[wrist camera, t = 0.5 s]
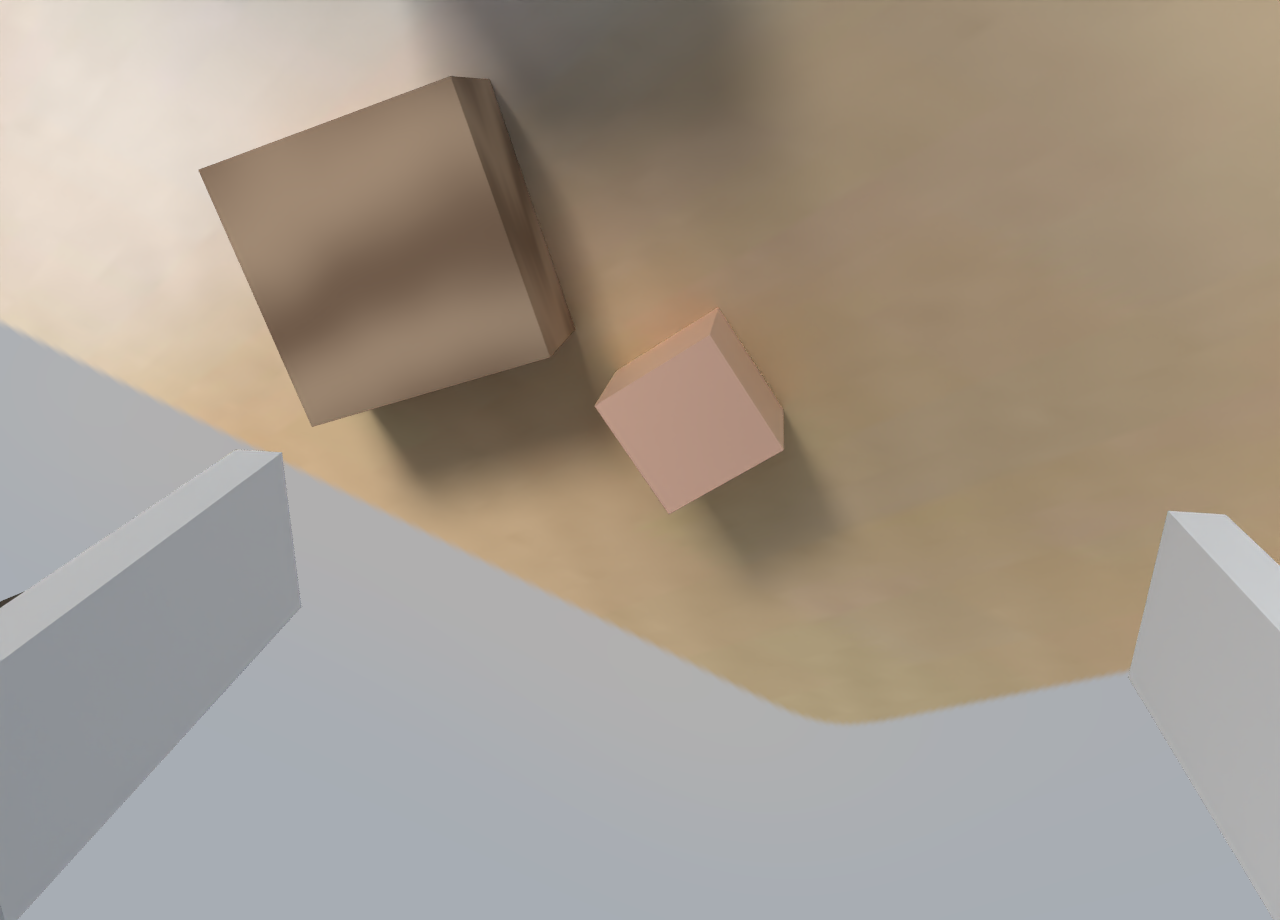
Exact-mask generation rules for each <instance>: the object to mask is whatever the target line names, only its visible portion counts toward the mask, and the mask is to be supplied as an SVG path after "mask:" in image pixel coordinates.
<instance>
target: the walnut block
mask: <svg viewBox="0 0 1280 920" xmlns="http://www.w3.org/2000/svg"><path fill="white" fill-rule="evenodd" d="M199 172H200V175H201V177H202V179H203V181H204V184H205V186H206V188H207V191H208V193H209V195H210V197H211V200H212V202H213V204H214V206H215V209H216V211H217V213H218V215H219V218H220V220H221V222H222V224H223V227H224V229H225V231H226V234H227V236H228V238H229V240H230V243H231V245H232V247H233V249H234V252H235V254H236V256H237V258H238V261H239V263H240V265H241V267H242V270H243V272H244V274H245V277H246V279H247V281H248V283H249V286H250V288H251V290H252V292H253V295H254V297H255V299H256V301H257V304H258V306H259V308H260V311H261V313H262V315H263V317H264V320H265V322H266V324H267V326H268V329H269V331H270V333H271V335H272V338H273V340H274V342H275V344H276V347H277V349H278V351H279V354H280V356H281V358H282V360H283V363H284V365H285V367H286V369H287V372H288V374H289V376H290V378H291V381H292V383H293V385H294V388H295V390H296V392H297V394H298V397H299V399H300V401H301V403H302V406H303V408H304V410H305V412H306V415H307V417H308V419H309V421H310V424H311V426H312V427H313V426H317V425H320V424H323V423H327V422H330V421H334V420H337V419H341V418H344V417H347V416H351V415H354V414H358V413H361V412H365V411H368V410H371V409H375V408H378V407H382V406H385V405H389V404H392V403H395V402H399V401H402V400H406V399H409V398H413V397H416V396H420V395H423V394H426V393H430V392H433V391H437V390H440V389H444V388H447V387H450V386H454V385H457V384H461V383H464V382H468V381H471V380H474V379H478V378H481V377H485V376H488V375H492V374H495V373H498V372H502V371H505V370H509V369H512V368H516V367H519V366H522V365H526V364H529V363H533V362H536V361H540V360H543V359H546V358H550V357H551V356H552V355H553V354H554V353H555V351H556V350H557V349H558V348H559V347H560V346H561V345H562V344H563V342H564V341H565V340H566V339H567V338H568V337H569V336H570V335H571V333H572V332H573V331H574V330H575V327H574V324H573V321H572V318H571V315H570V312H569V309H568V307H567V304H566V301H565V298H564V295H563V292H562V289H561V286H560V283H559V280H558V277H557V274H556V272H555V269H554V266H553V263H552V260H551V257H550V254H549V251H548V248H547V245H546V242H545V239H544V236H543V234H542V231H541V228H540V225H539V222H538V219H537V216H536V213H535V210H534V207H533V204H532V201H531V199H530V196H529V193H528V190H527V187H526V184H525V181H524V178H523V175H522V172H521V169H520V166H519V164H518V161H517V158H516V155H515V152H514V149H513V146H512V143H511V140H510V137H509V134H508V131H507V129H506V126H505V123H504V120H503V117H502V114H501V111H500V108H499V105H498V102H497V99H496V96H495V94H494V91H493V88H492V85H491V82H490V79H478V78H466V77H454V76H450V77H447V78H444V79H442V80H439V81H436V82H434V83H431V84H428V85H425V86H423V87H420V88H417V89H415V90H412V91H409V92H407V93H404V94H401V95H399V96H396V97H393V98H391V99H388V100H385V101H382V102H380V103H377V104H374V105H372V106H369V107H366V108H364V109H361V110H358V111H356V112H353V113H350V114H347V115H345V116H342V117H339V118H337V119H334V120H331V121H329V122H326V123H323V124H321V125H318V126H315V127H313V128H310V129H307V130H304V131H302V132H299V133H296V134H294V135H291V136H288V137H286V138H283V139H280V140H278V141H275V142H272V143H270V144H267V145H264V146H261V147H259V148H256V149H253V150H251V151H248V152H245V153H243V154H240V155H237V156H235V157H232V158H229V159H226V160H224V161H221V162H218V163H216V164H213V165H210V166H208V167H205V168H202V169H200V170H199Z"/></svg>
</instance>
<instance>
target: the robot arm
mask: <svg viewBox="0 0 1280 920" xmlns="http://www.w3.org/2000/svg"><path fill="white" fill-rule="evenodd" d="M300 608H301V601H300V593H299V585H298V577H297V569H296V561H295V553H294V545H293V537H292V529H291V522H290V514H289V505H288V498H287V489H286V481H285V473H284V465H283V457H282V452H267V451H252V450H237V449H236V450H234V451H233V452H231V453H230V454H228V455H227V456H225V457H224V458H222V459H221V460H219V461H218V462H217V463H215V464H214V465H212V466H210V467H209V468H207V469H206V470H204V471H203V472H201V473H200V474H198V475H197V476H195V477H194V478H192V479H191V480H189V481H188V482H186V483H185V484H184V485H182V486H181V487H179V488H178V489H176V490H175V491H173V492H172V493H170V494H169V495H167V496H166V497H164V498H163V499H161V500H160V501H158V502H157V503H155V504H154V505H152V506H151V507H149V508H148V509H147V510H145V511H144V512H142V513H140V514H139V515H137V516H136V517H134V518H133V519H132V520H130V521H129V522H127V523H126V524H124V525H123V526H121V527H120V528H118V529H117V530H116V531H114V532H112V533H111V534H109V535H108V536H106V537H105V538H103V539H102V540H100V541H99V542H98V543H96V544H94V545H93V546H91V547H90V548H88V549H87V550H86V551H84V552H82V553H81V554H80V555H78V556H77V557H75V558H74V559H72V560H71V561H69V562H68V563H66V564H65V565H63V566H62V567H60V568H59V569H57V570H56V571H54V572H53V573H51V574H50V575H48V576H47V577H45V578H44V579H42V580H41V581H39V582H38V583H37V584H35V585H34V586H32V587H31V588H29V589H28V590H26V591H25V592H22V593H20V594H18V595H15V596H13V597H10V598H8V599H5V600H3V601H1V602H0V920H17V919H18V918H19V917H20V916H21V915H22V914H23V913H24V912H25V911H26V910H27V908H28V907H29V906H30V905H31V904H32V903H33V902H34V901H35V900H36V899H37V897H38V896H39V895H40V894H41V893H42V892H43V891H44V890H45V889H46V887H47V886H48V885H49V884H50V883H51V882H52V881H53V880H54V879H55V878H56V877H57V875H58V874H59V873H60V872H61V871H62V870H63V869H64V868H65V867H66V865H67V864H68V863H69V862H70V861H71V860H72V859H73V858H74V857H75V856H76V855H77V853H78V852H79V851H80V850H81V849H82V848H83V847H84V846H85V845H86V844H87V842H88V841H89V840H90V839H91V838H92V837H93V836H94V835H95V834H96V832H97V831H98V830H99V829H100V828H101V827H102V826H103V825H104V824H105V822H106V821H107V820H108V819H109V818H110V817H111V816H112V815H113V814H114V813H115V811H116V810H117V809H118V808H119V807H120V806H121V805H122V804H123V803H124V802H125V800H127V798H128V797H129V796H130V795H131V794H132V793H133V792H134V791H135V790H136V789H137V787H138V786H139V785H140V784H141V783H142V782H143V781H144V780H145V779H146V778H147V776H148V775H149V774H150V773H151V772H152V771H153V770H154V769H155V767H157V765H158V764H159V763H160V762H161V761H162V760H163V759H164V758H165V757H166V755H167V754H168V753H169V752H170V751H171V750H172V749H173V748H174V747H175V746H176V745H177V743H178V742H179V741H180V740H181V739H182V738H183V737H184V736H185V735H186V733H187V732H188V731H189V730H190V729H191V728H192V727H193V726H194V725H195V724H196V722H197V721H198V720H199V719H200V718H201V717H202V716H203V715H204V714H205V713H206V711H207V710H208V709H209V708H210V707H211V706H212V705H213V704H214V703H215V702H216V700H217V699H218V698H219V697H220V696H221V695H222V694H223V693H224V692H225V691H226V689H227V688H228V687H229V686H230V685H231V684H232V683H233V682H234V681H235V679H236V678H237V677H238V676H239V675H240V674H241V673H242V672H243V671H244V669H246V667H247V666H248V665H249V664H250V663H251V662H252V661H253V660H254V659H255V657H256V656H257V655H258V654H259V653H260V652H261V651H262V650H263V649H264V648H265V646H266V645H267V644H268V643H269V642H270V641H271V640H272V639H273V638H274V637H275V635H276V634H277V633H278V632H279V631H280V630H281V629H282V628H283V627H284V626H285V624H286V623H287V622H288V621H289V620H290V619H291V618H292V617H293V615H295V613H296V612H297V611H298V610H299V609H300ZM1128 678H1129V679H1130V681H1131V683H1132V684H1133V686H1134V688H1135V689H1136V691H1137V693H1138V694H1139V696H1140V698H1141V699H1142V701H1143V703H1144V704H1145V706H1146V708H1147V709H1148V711H1149V713H1150V715H1151V716H1152V718H1153V719H1154V721H1155V723H1156V725H1157V726H1158V728H1159V730H1160V731H1161V733H1162V734H1163V736H1164V738H1165V740H1166V741H1167V743H1168V745H1169V746H1170V747H1171V750H1172V751H1173V753H1174V754H1175V756H1176V758H1177V759H1178V761H1179V763H1180V764H1181V766H1182V768H1183V770H1184V771H1185V773H1186V774H1187V776H1188V778H1189V780H1190V781H1191V783H1192V785H1193V786H1194V788H1195V790H1196V791H1197V793H1198V795H1199V796H1200V798H1201V800H1202V801H1203V803H1204V804H1205V806H1206V808H1207V809H1208V811H1209V813H1210V814H1211V816H1212V818H1213V820H1214V821H1215V823H1216V825H1217V826H1218V828H1219V829H1220V831H1221V833H1222V835H1223V836H1224V838H1225V840H1226V841H1227V843H1228V845H1229V846H1230V848H1231V850H1232V851H1233V853H1234V854H1235V856H1236V858H1237V860H1238V861H1239V863H1240V865H1241V866H1242V868H1243V870H1244V871H1245V873H1246V875H1247V876H1248V878H1249V880H1250V881H1251V883H1252V885H1253V886H1254V888H1255V890H1256V891H1257V893H1258V894H1259V896H1260V898H1261V899H1262V901H1263V903H1264V905H1265V906H1266V908H1267V910H1268V911H1269V913H1270V915H1271V916H1272V918H1273V919H1274V920H1280V566H1279V565H1278V564H1277V563H1276V562H1275V561H1274V560H1273V559H1272V558H1271V557H1270V556H1269V555H1268V554H1267V553H1266V552H1265V551H1264V550H1262V549H1261V548H1260V547H1259V546H1258V545H1257V544H1256V543H1255V542H1254V541H1253V540H1252V539H1251V538H1250V537H1249V536H1248V535H1247V534H1246V533H1245V532H1243V531H1242V530H1241V529H1240V528H1239V527H1238V526H1237V525H1236V524H1235V523H1234V522H1233V521H1232V520H1231V519H1230V518H1229V517H1228V516H1227V515H1224V514H1208V513H1193V512H1178V511H1168V512H1167V517H1166V521H1165V525H1164V529H1163V533H1162V538H1161V542H1160V546H1159V550H1158V554H1157V559H1156V563H1155V567H1154V571H1153V575H1152V580H1151V584H1150V588H1149V592H1148V596H1147V601H1146V605H1145V609H1144V613H1143V617H1142V622H1141V626H1140V630H1139V634H1138V638H1137V643H1136V647H1135V651H1134V655H1133V659H1132V664H1131V668H1130V672H1129V676H1128Z"/></svg>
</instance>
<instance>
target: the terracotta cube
mask: <svg viewBox="0 0 1280 920" xmlns="http://www.w3.org/2000/svg"><path fill="white" fill-rule="evenodd" d="M595 408H596V409H597V410H598V412H599V413H600V415H601V416H602V418H603V419H604V421H605V422H606V424H607V425H608V426H609V428H610V429H611V431H612V432H613V434H614V435H615V437H616V438H617V440H618V441H619V442H620V444H621V445H622V447H623V448H624V450H625V451H626V453H627V454H628V456H629V457H630V459H631V460H632V461H633V463H634V464H635V466H636V467H637V469H638V470H639V472H640V473H641V475H642V476H643V477H644V479H645V480H646V482H647V483H648V485H649V486H650V488H651V489H652V491H653V492H654V493H655V495H656V496H657V498H658V499H659V501H660V502H661V504H662V505H663V507H664V508H665V509H666V511H667V512H668V514H670V513H672V512H674V511H676V510H677V509H679V508H681V507H683V506H685V505H686V504H688V503H690V502H692V501H694V500H695V499H697V498H699V497H701V496H702V495H704V494H706V493H708V492H710V491H711V490H713V489H715V488H717V487H719V486H720V485H722V484H724V483H726V482H728V481H729V480H731V479H733V478H735V477H736V476H738V475H740V474H742V473H744V472H745V471H747V470H749V469H751V468H753V467H754V466H756V465H758V464H760V463H761V462H763V461H765V460H767V459H769V458H770V457H772V456H774V455H776V454H778V453H779V452H781V451H783V450H784V417H783V408H782V407H781V405H780V403H779V402H778V400H777V399H776V397H775V395H774V394H773V392H772V391H771V389H770V388H769V386H768V384H767V383H766V381H765V380H764V378H763V377H762V375H761V373H760V372H759V370H758V369H757V367H756V366H755V364H754V362H753V361H752V359H751V358H750V356H749V355H748V353H747V351H746V350H745V348H744V347H743V345H742V343H741V342H740V340H739V339H738V337H737V336H736V334H735V332H734V331H733V329H732V328H731V326H730V325H729V323H728V321H727V320H726V318H725V317H724V315H723V314H722V312H721V310H720V309H719V307H717V308H716V309H714V310H712V311H711V312H709V313H708V314H706V315H704V316H703V317H701V318H700V319H698V320H696V321H695V322H693V323H692V324H690V325H688V326H687V327H685V328H684V329H682V330H680V331H679V332H677V333H676V334H674V335H672V336H671V337H669V338H668V339H666V340H664V341H663V342H661V343H660V344H658V345H656V346H655V347H653V348H652V349H650V350H648V351H647V352H645V353H644V354H642V355H640V356H639V357H637V358H636V359H634V360H632V361H631V362H629V363H628V364H626V365H624V366H623V367H621V368H620V369H618V370H616V371H615V373H614V375H613V376H612V378H611V379H610V381H609V383H608V384H607V386H606V388H605V389H604V391H603V393H602V394H601V396H600V398H599V399H598V401H597V402H596V404H595Z"/></svg>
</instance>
